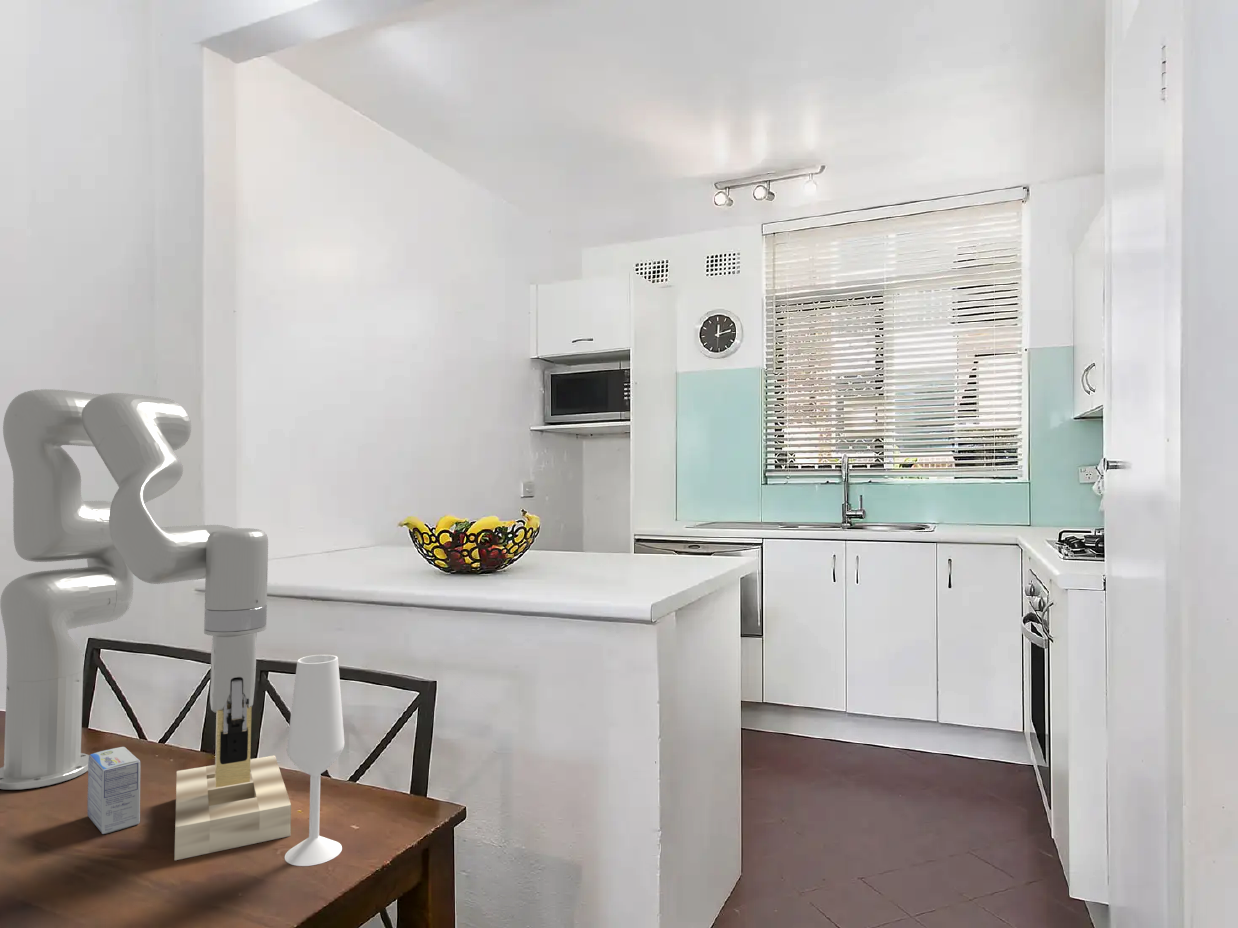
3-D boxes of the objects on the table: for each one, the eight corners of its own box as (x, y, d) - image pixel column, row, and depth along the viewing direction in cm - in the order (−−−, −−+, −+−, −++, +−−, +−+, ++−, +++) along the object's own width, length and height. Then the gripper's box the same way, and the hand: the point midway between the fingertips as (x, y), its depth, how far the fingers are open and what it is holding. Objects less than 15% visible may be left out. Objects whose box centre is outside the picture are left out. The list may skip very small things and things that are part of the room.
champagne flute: (272, 862, 90) (276, 663, 91) (307, 836, 97) (311, 651, 97) (320, 869, 89) (325, 667, 89) (353, 842, 95) (357, 654, 96)
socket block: (175, 798, 108) (176, 770, 108) (274, 781, 114) (274, 755, 114) (174, 860, 90) (175, 827, 90) (290, 835, 97) (291, 804, 97)
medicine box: (140, 824, 100) (142, 759, 100) (100, 836, 96) (102, 768, 97) (124, 806, 105) (125, 744, 105) (86, 816, 102) (87, 753, 102)
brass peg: (214, 776, 101) (216, 702, 101) (247, 771, 103) (249, 698, 103) (215, 787, 98) (217, 710, 98) (249, 781, 100) (251, 706, 100)
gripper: (202, 612, 106) (199, 741, 106) (205, 633, 92) (202, 783, 91) (261, 608, 110) (258, 733, 109) (272, 628, 95) (269, 771, 95)
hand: (232, 754), depth 100 cm, fingers closed on brass peg, 4 cm apart
